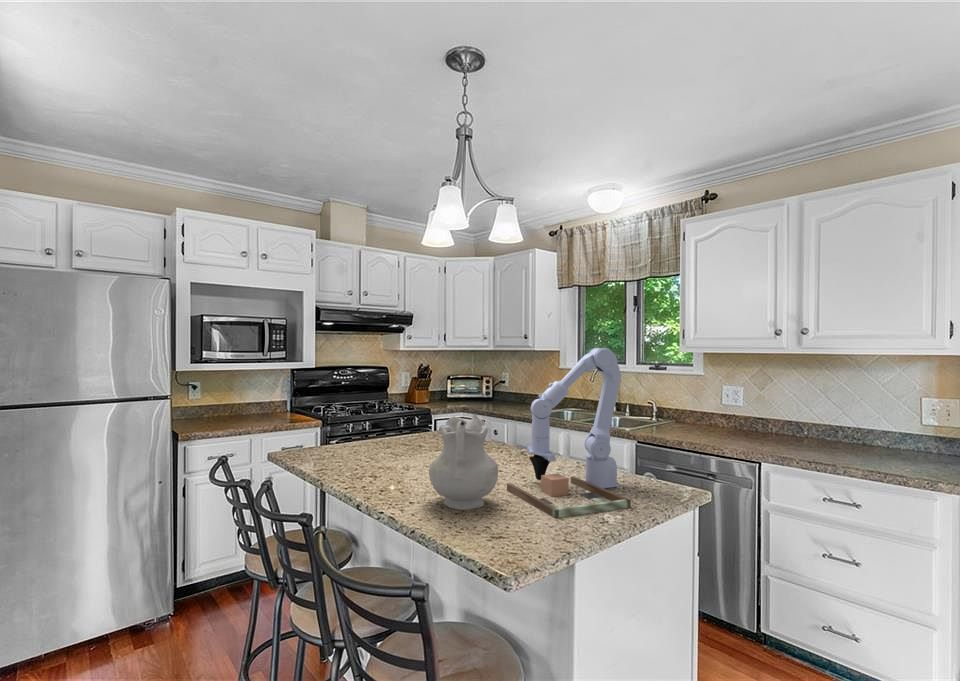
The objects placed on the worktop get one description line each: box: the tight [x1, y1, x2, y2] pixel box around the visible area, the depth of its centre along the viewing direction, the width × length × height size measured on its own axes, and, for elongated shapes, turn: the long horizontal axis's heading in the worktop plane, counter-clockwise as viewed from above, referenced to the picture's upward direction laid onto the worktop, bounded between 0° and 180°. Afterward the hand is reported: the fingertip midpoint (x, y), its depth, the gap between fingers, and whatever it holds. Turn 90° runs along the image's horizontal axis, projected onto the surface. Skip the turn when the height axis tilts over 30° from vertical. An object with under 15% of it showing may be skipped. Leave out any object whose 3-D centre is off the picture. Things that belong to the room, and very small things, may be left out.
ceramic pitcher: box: [428, 414, 499, 511], centre depth 145 cm, size 22×20×25 cm
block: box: [540, 473, 570, 497], centre depth 158 cm, size 6×6×5 cm
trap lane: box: [506, 476, 632, 519], centre depth 153 cm, size 24×28×2 cm
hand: (540, 479), depth 166 cm, fingers closed
